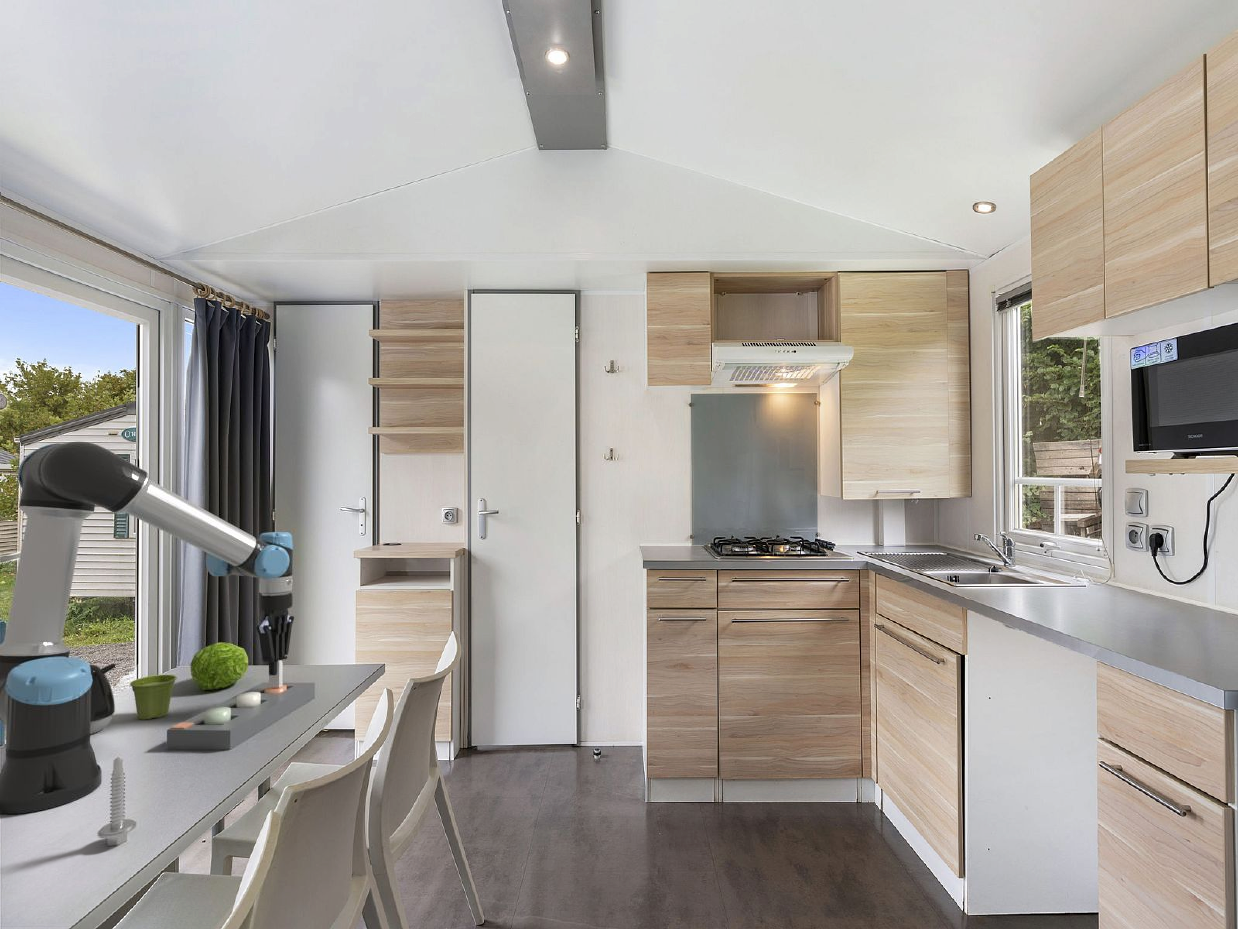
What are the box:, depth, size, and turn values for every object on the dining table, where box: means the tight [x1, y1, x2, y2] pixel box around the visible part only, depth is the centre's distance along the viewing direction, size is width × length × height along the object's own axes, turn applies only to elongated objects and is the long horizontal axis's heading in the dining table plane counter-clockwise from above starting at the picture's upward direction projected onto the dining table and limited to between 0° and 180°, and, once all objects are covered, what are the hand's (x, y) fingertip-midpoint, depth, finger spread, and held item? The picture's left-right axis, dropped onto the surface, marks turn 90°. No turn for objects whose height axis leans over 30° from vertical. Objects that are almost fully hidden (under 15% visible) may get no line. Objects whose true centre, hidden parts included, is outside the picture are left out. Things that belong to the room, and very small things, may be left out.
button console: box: [166, 682, 316, 751], centre depth 157 cm, size 34×14×4 cm, turn 176°
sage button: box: [204, 707, 231, 725], centre depth 146 cm, size 5×5×4 cm
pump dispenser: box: [89, 662, 116, 735], centre depth 151 cm, size 10×10×15 cm
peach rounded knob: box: [264, 685, 287, 693], centre depth 168 cm, size 5×5×4 cm
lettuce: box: [190, 642, 249, 691], centre depth 189 cm, size 13×22×14 cm
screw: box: [96, 756, 137, 847], centre depth 103 cm, size 13×5×5 cm
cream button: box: [236, 692, 261, 708], centre depth 157 cm, size 5×5×4 cm
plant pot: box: [129, 673, 178, 720], centre depth 162 cm, size 9×9×9 cm
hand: (275, 686), depth 168 cm, fingers closed
